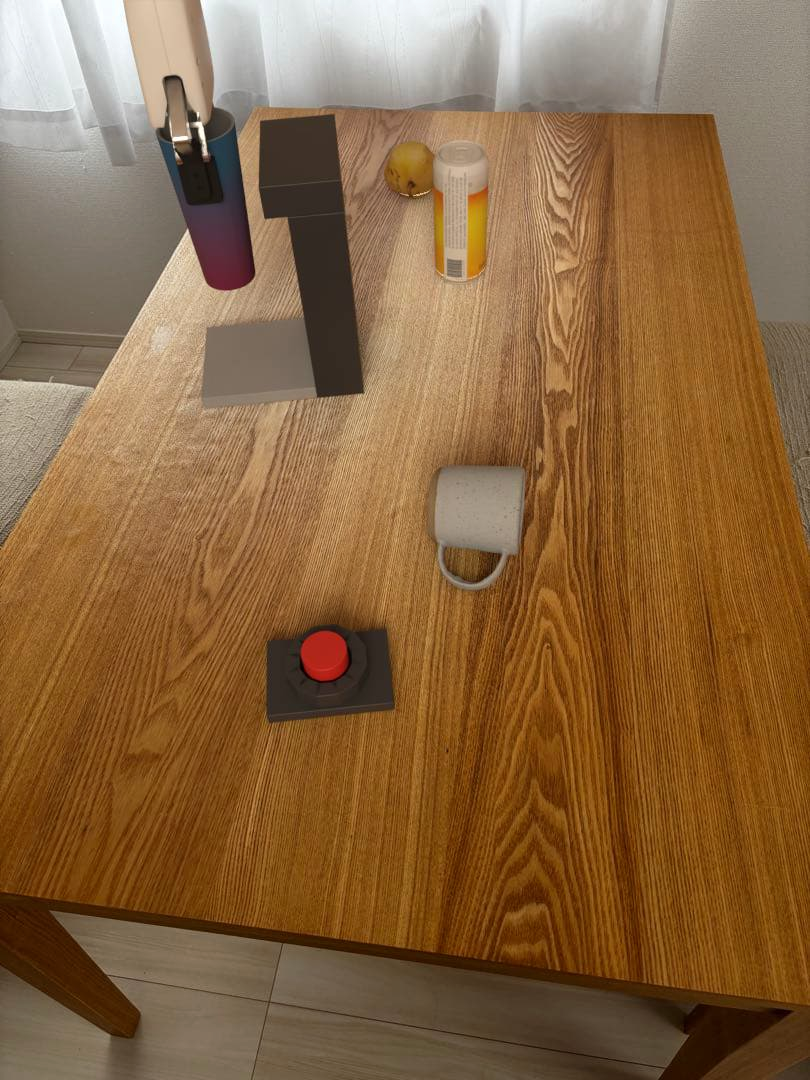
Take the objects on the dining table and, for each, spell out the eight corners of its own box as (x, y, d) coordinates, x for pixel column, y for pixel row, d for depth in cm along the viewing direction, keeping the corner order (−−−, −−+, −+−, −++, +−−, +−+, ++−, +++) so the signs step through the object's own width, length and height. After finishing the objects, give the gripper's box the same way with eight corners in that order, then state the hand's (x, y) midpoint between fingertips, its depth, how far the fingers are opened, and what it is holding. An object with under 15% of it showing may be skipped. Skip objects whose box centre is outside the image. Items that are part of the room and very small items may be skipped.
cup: (183, 275, 86) (140, 125, 75) (240, 248, 89) (207, 98, 77) (219, 305, 83) (181, 153, 71) (278, 276, 86) (249, 124, 74)
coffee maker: (204, 409, 92) (139, 198, 73) (209, 337, 99) (152, 129, 80) (364, 393, 92) (340, 179, 73) (357, 323, 100) (334, 113, 81)
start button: (304, 684, 68) (301, 672, 66) (303, 644, 70) (300, 632, 68) (350, 679, 68) (347, 667, 66) (347, 640, 70) (345, 628, 69)
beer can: (487, 258, 106) (491, 138, 95) (483, 288, 103) (487, 167, 91) (438, 256, 107) (436, 137, 95) (432, 286, 103) (429, 165, 92)
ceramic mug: (437, 499, 82) (435, 442, 76) (524, 506, 81) (529, 449, 75) (422, 591, 76) (418, 537, 70) (515, 600, 75) (520, 546, 69)
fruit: (436, 173, 109) (448, 132, 114) (383, 157, 108) (397, 117, 114) (425, 220, 114) (436, 179, 120) (374, 205, 114) (388, 165, 120)
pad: (268, 723, 68) (262, 705, 66) (269, 648, 73) (262, 628, 71) (394, 710, 69) (392, 691, 66) (387, 635, 73) (385, 615, 71)
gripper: (116, -81, 70) (173, 139, 84) (86, 2, 59) (157, 239, 73) (209, -89, 70) (250, 132, 84) (197, -7, 59) (247, 231, 73)
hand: (207, 180), depth 78 cm, fingers closed on cup, 6 cm apart
